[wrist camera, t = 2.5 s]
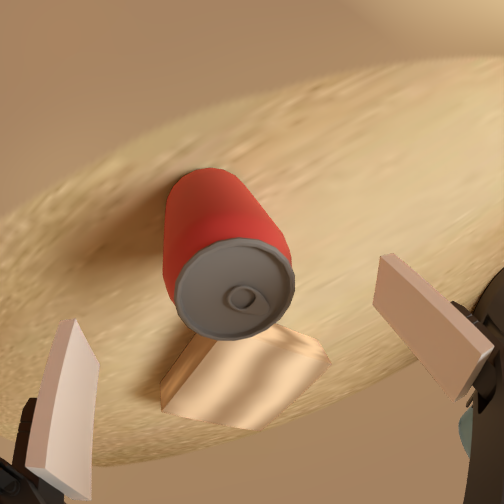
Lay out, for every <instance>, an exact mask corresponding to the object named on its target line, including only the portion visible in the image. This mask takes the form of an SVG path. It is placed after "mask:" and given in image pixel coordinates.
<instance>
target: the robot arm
mask: <svg viewBox="0 0 504 504" xmlns="http://www.w3.org/2000/svg"><path fill="white" fill-rule="evenodd" d="M372 305H373V306H374V307H375V308H376V309H377V311H378V312H379V313H380V314H381V315H382V316H383V318H384V319H385V320H386V321H387V322H388V323H389V325H390V326H391V327H392V328H393V329H394V331H395V332H396V333H397V334H398V335H399V337H400V338H401V339H402V340H403V341H404V343H405V344H406V345H407V346H408V347H409V349H410V350H411V351H412V352H413V353H414V355H415V356H416V357H417V358H418V360H419V361H420V362H421V363H422V365H423V366H424V367H425V368H426V369H427V371H428V372H429V373H430V375H431V376H432V377H433V378H434V380H435V381H436V382H437V383H438V384H439V386H440V387H441V388H442V390H443V391H444V392H445V393H446V395H447V396H448V398H449V399H450V400H451V401H452V402H453V403H454V402H456V401H457V400H459V399H460V398H462V397H463V396H465V395H466V394H467V393H468V391H469V389H470V388H471V386H472V385H473V387H474V388H475V389H476V390H475V391H474V393H473V394H472V396H471V397H470V399H469V400H468V402H467V404H466V407H469V405H470V404H471V402H472V401H473V405H472V406H471V407H470V408H469V409H468V410H467V411H466V412H465V413H464V414H463V415H462V417H461V418H460V421H459V435H460V439H461V442H462V444H463V446H464V449H465V451H466V453H467V455H468V457H469V458H470V462H469V471H468V478H467V485H466V491H465V497H464V502H463V504H504V269H503V270H502V271H501V272H500V273H499V274H498V275H497V276H496V277H495V278H494V279H493V281H492V282H491V283H490V285H489V286H488V288H487V289H486V291H485V292H484V294H483V295H482V297H481V299H480V301H479V303H478V305H477V307H476V309H475V311H474V314H473V316H472V314H471V313H470V312H469V311H468V310H467V309H466V308H465V307H464V306H462V305H460V304H458V303H456V302H454V301H452V302H449V301H448V300H447V299H446V298H445V297H443V296H442V295H441V294H440V293H439V292H438V291H437V290H436V289H435V288H433V287H432V286H431V285H430V284H429V283H428V282H427V281H426V280H424V279H423V278H422V277H421V276H420V275H419V274H418V273H416V272H415V271H414V270H413V269H412V268H411V267H409V266H408V265H407V264H406V263H405V262H404V261H402V260H401V259H400V258H399V257H398V256H396V255H395V254H394V253H391V254H387V255H383V256H380V261H379V268H378V275H377V281H376V287H375V293H374V299H373V304H372ZM99 368H100V364H99V362H98V360H97V358H96V356H95V355H94V353H93V351H92V349H91V347H90V346H89V344H88V342H87V340H86V338H85V336H84V334H83V332H82V330H81V328H80V326H79V324H78V322H77V320H76V318H74V319H68V320H62V321H60V322H59V325H58V328H57V331H56V334H55V337H54V341H53V344H52V347H51V350H50V353H49V357H48V360H47V364H46V367H45V371H44V374H43V378H42V382H41V386H40V390H39V394H38V398H29V400H28V402H27V403H26V405H25V406H24V408H23V411H22V415H21V419H20V421H21V423H20V424H19V429H18V431H19V433H17V438H16V444H15V450H14V455H13V461H12V465H10V464H9V463H8V462H7V461H5V460H4V459H2V458H0V504H66V503H65V502H64V495H66V496H68V497H69V498H71V499H72V500H86V501H91V468H92V441H93V426H94V413H95V402H96V393H97V384H98V376H99Z"/></svg>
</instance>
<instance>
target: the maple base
mask: <svg viewBox="0 0 504 504" xmlns="http://www.w3.org/2000/svg"><path fill="white" fill-rule="evenodd" d="M331 365H332V363H331V361H330V360H329V358H328V356H327V354H326V353H325V351H324V349H323V347H322V346H321V344H320V342H319V341H318V340H317V339H315V338H312V337H309V336H307V335H304V334H302V333H299V332H296V331H294V330H291V329H289V328H286V327H283V326H281V325H278V324H276V323H275V324H273V325H272V326H271V327H270V328H269V329H267V330H265V331H263V332H261V333H259V334H257V335H255V336H253V337H250V338H246V339H241V340H237V341H217V340H213V339H210V338H206V337H203V336H200V335H199V334H197V333H196V334H195V335H194V337H193V338H192V339H191V341H190V342H189V344H188V345H187V346H186V348H185V349H184V351H183V352H182V353H181V355H180V356H179V358H178V359H177V360H176V362H175V363H174V365H173V366H172V367H171V369H170V370H169V371H168V373H167V374H166V376H165V377H164V378H163V380H162V381H161V383H160V395H161V412H164V413H168V414H172V415H177V416H181V417H185V418H189V419H194V420H199V421H203V422H208V423H213V424H219V425H224V426H230V427H236V428H242V429H249V430H256V431H261V430H263V429H264V428H265V427H266V426H267V425H268V424H270V423H271V422H272V421H273V420H274V419H275V418H276V417H278V416H279V415H280V414H281V413H282V412H283V411H284V410H285V409H287V408H288V407H289V406H290V405H291V404H292V403H293V402H294V401H295V400H296V399H297V398H298V397H300V396H301V395H302V394H303V393H304V392H305V391H306V390H307V389H308V388H309V387H310V386H311V385H312V384H313V383H314V382H315V381H316V380H317V379H318V378H319V377H320V376H321V375H322V374H323V373H324V372H325V371H326V370H327V369H328V368H329V367H330V366H331Z"/></svg>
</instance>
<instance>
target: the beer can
mask: <svg viewBox="0 0 504 504" xmlns="http://www.w3.org/2000/svg"><path fill="white" fill-rule="evenodd" d="M163 278H164V282H165V285H166V289H167V292H168V294H169V297H170V299H171V300H172V302H173V303H174V304H175V306H176V309H177V313H178V315H179V317H180V318H181V319H182V321H183V322H184V323H185V324H186V326H187V327H188V328H190V329H191V330H193V331H194V332H196V333H197V334H199V335H200V336H203V337H206V338H210V339H213V340H217V341H237V340H241V339H246V338H250V337H253V336H255V335H257V334H259V333H261V332H263V331H265V330H267V329H269V328H270V327H271V326H272V325H273V324H275V323H276V322H277V321H278V320H280V319H281V317H282V316H283V314H284V313H285V312H286V310H287V309H288V307H289V306H290V304H291V301H292V298H293V295H294V292H295V275H294V272H293V270H292V263H291V254H290V250H289V248H288V245H287V243H286V240H285V238H284V236H283V234H282V232H281V231H280V230H279V228H278V227H277V226H276V224H275V223H274V222H273V221H272V219H271V218H270V217H269V215H268V214H267V213H266V212H265V210H264V209H263V208H262V207H261V205H260V204H259V203H258V201H257V200H256V199H255V198H254V196H253V195H252V194H251V193H250V191H249V190H248V189H247V188H246V186H245V185H244V184H243V183H242V182H241V181H240V180H239V179H238V178H237V177H236V176H235V175H233V174H231V173H229V172H227V171H225V170H222V169H215V168H205V169H199V170H195V171H193V172H191V173H189V174H187V175H185V176H183V177H182V178H181V179H180V180H179V181H178V182H177V183H176V184H175V185H174V186H173V188H172V190H171V192H170V194H169V196H168V198H167V203H166V211H165V226H164V247H163Z"/></svg>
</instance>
